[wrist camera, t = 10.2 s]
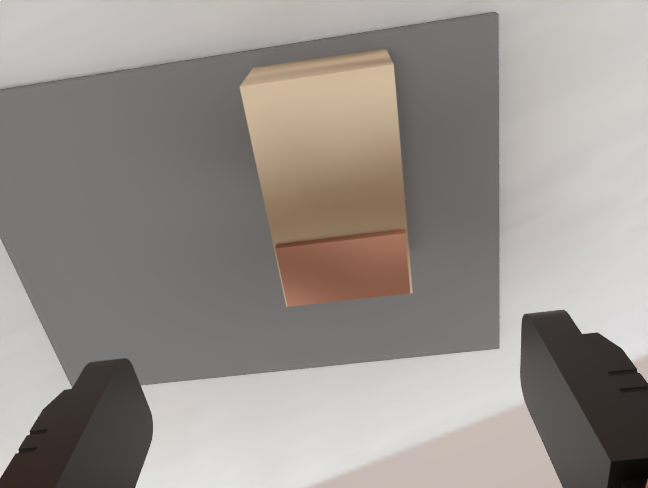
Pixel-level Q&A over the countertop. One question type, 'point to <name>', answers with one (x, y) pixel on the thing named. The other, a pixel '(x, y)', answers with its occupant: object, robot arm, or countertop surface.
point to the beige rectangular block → (331, 175)
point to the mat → (243, 213)
